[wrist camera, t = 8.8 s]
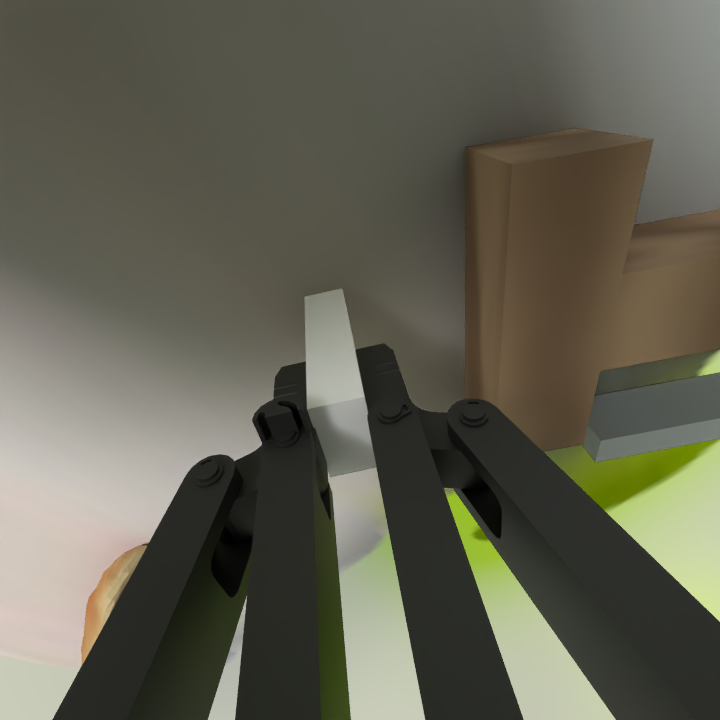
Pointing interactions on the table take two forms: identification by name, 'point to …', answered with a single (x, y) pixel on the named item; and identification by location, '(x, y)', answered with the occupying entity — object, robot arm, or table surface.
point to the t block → (575, 277)
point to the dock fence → (654, 418)
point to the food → (108, 596)
